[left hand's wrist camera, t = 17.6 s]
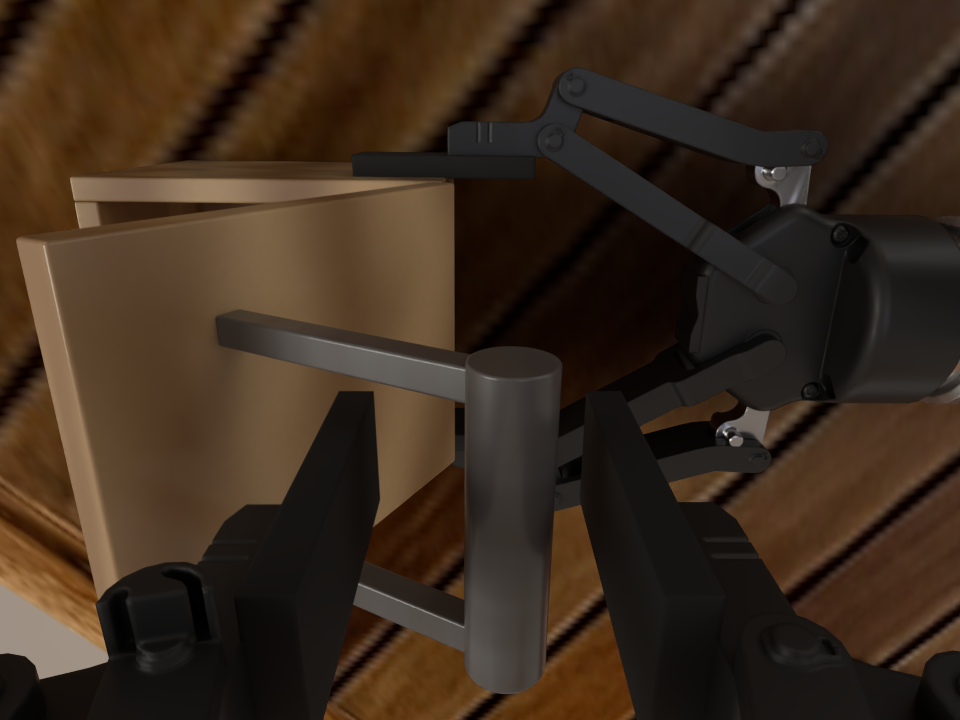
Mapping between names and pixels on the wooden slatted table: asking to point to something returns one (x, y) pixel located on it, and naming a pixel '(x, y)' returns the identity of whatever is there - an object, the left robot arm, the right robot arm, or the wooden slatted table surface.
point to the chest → (214, 187)
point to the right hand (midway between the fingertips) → (365, 305)
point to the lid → (298, 395)
